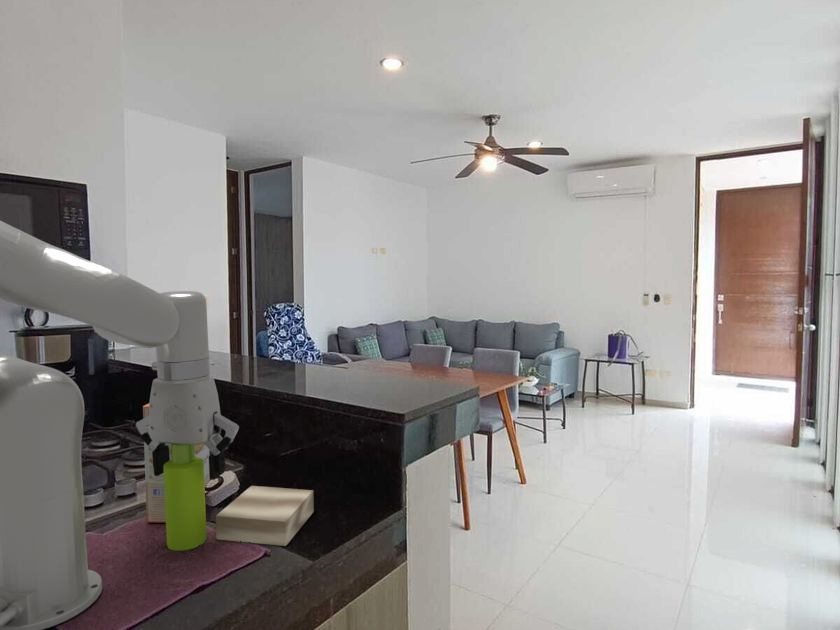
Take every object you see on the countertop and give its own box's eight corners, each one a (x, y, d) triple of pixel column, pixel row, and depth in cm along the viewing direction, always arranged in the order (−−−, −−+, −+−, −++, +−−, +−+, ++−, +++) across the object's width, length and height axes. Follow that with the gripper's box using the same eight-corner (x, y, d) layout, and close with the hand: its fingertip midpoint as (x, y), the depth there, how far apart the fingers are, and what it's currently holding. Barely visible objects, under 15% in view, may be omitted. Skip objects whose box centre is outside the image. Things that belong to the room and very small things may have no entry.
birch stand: (285, 545, 84) (285, 521, 84) (216, 539, 86) (215, 515, 86) (313, 511, 96) (313, 490, 95) (252, 506, 98) (251, 485, 98)
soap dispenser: (216, 542, 85) (212, 421, 83) (169, 554, 82) (163, 428, 80) (209, 527, 90) (205, 412, 88) (164, 538, 86) (159, 418, 85)
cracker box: (180, 524, 91) (174, 405, 89) (145, 524, 91) (139, 405, 89) (213, 490, 105) (209, 386, 103) (183, 490, 105) (178, 386, 103)
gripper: (117, 373, 81) (124, 480, 83) (221, 376, 78) (226, 487, 80) (150, 363, 88) (156, 462, 90) (246, 366, 86) (250, 468, 87)
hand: (189, 474), depth 85 cm, fingers open, 9 cm apart
